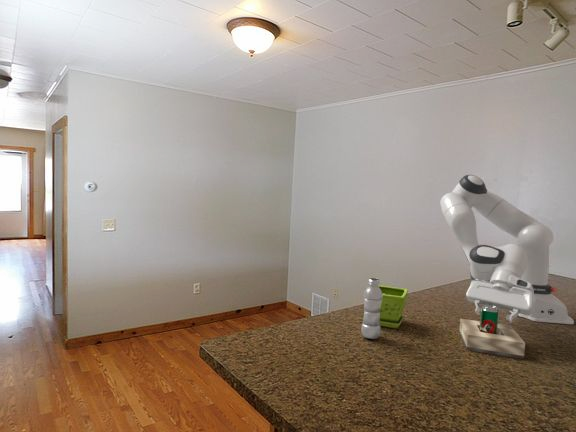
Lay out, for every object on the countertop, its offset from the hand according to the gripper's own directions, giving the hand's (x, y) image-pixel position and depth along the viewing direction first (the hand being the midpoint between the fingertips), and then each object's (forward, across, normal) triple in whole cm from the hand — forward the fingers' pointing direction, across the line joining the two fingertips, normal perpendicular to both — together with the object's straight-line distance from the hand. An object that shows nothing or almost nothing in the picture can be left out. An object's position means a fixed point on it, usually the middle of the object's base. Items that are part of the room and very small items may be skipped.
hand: (492, 317), depth 120 cm
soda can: (+7, -1, +5) cm, 9 cm away
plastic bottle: (+27, -28, -13) cm, 41 cm away
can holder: (+7, 0, +6) cm, 9 cm away
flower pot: (+15, -33, -1) cm, 36 cm away
